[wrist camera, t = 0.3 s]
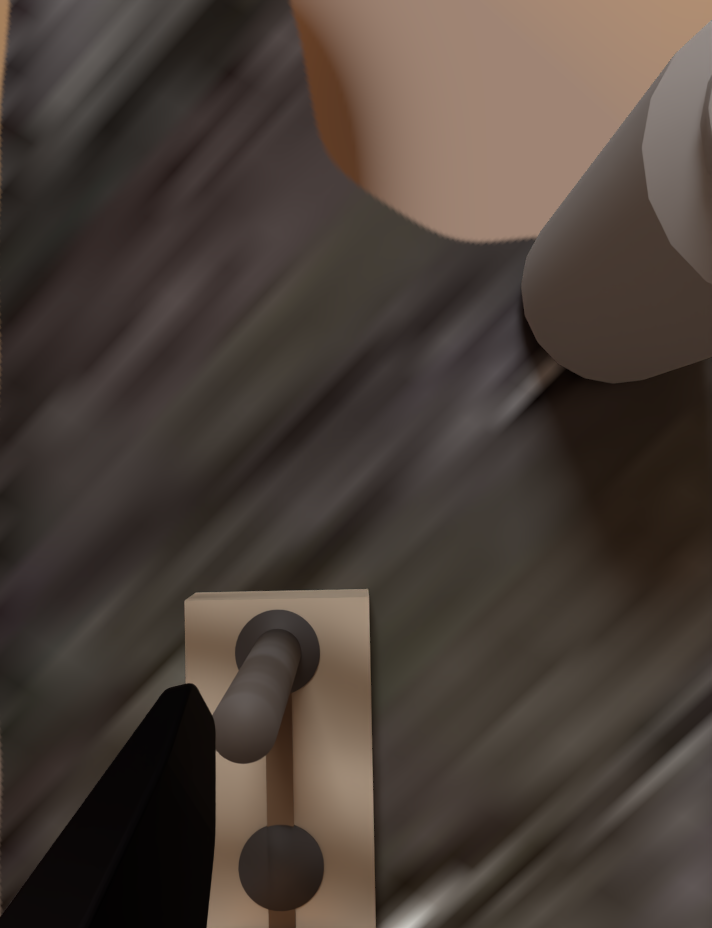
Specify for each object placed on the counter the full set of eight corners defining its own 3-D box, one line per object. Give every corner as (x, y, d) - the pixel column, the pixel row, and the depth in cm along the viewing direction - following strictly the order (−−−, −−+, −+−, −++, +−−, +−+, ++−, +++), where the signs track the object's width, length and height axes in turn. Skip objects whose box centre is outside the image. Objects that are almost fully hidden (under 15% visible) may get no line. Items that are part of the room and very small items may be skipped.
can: (582, 422, 23) (828, 365, 11) (479, 272, 23) (611, 53, 11) (732, 320, 23) (1139, 153, 11) (629, 171, 23) (920, -154, 11)
